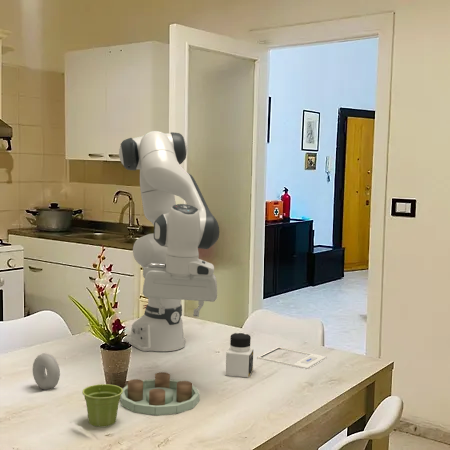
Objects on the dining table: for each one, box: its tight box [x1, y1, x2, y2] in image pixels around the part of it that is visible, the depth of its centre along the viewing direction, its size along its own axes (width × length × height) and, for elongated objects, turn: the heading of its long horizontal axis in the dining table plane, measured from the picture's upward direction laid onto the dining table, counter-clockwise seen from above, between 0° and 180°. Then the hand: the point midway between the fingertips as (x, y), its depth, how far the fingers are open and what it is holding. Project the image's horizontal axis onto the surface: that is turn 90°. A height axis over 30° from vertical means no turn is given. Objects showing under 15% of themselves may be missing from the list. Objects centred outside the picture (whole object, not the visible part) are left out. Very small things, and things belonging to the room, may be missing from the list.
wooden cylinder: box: [154, 371, 171, 389], centre depth 175 cm, size 4×4×4 cm
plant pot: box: [82, 383, 123, 428], centre depth 154 cm, size 9×9×9 cm
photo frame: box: [256, 346, 327, 370], centre depth 212 cm, size 15×1×18 cm
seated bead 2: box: [149, 389, 165, 406], centre depth 163 cm, size 4×4×4 cm
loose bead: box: [176, 380, 193, 403], centre depth 169 cm, size 4×4×4 cm
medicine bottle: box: [225, 332, 254, 378], centre depth 195 cm, size 7×7×12 cm
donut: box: [32, 352, 61, 391], centre depth 177 cm, size 10×4×10 cm, turn 50°
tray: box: [119, 378, 200, 416], centre depth 169 cm, size 20×20×3 cm
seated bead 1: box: [127, 378, 143, 402], centre depth 169 cm, size 4×4×4 cm
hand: (178, 314), depth 177 cm, fingers open, 8 cm apart
